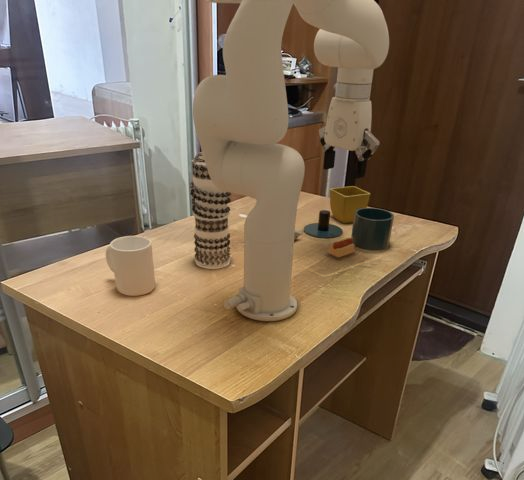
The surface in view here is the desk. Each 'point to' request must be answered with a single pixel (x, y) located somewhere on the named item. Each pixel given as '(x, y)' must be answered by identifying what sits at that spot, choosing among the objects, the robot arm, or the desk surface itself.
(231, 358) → the desk surface
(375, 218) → the pot
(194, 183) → the decorative candle
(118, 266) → the mug
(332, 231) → the pot lid
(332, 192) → the flower pot
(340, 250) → the hot dog
